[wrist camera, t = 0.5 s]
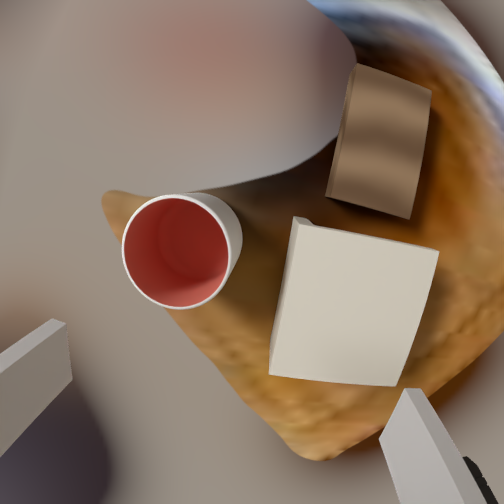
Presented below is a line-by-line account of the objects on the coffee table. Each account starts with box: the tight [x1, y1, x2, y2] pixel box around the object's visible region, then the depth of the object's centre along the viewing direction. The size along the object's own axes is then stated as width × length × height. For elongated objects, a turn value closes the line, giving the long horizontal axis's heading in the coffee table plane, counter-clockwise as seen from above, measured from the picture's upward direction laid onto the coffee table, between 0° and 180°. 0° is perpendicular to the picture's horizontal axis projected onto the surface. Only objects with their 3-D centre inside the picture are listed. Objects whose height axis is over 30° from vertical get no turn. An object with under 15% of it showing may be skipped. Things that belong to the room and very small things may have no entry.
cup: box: [122, 193, 243, 309], centre depth 31 cm, size 10×10×10 cm
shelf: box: [269, 216, 439, 386], centre depth 32 cm, size 15×14×8 cm
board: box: [325, 63, 432, 220], centre depth 31 cm, size 15×9×4 cm, turn 167°
